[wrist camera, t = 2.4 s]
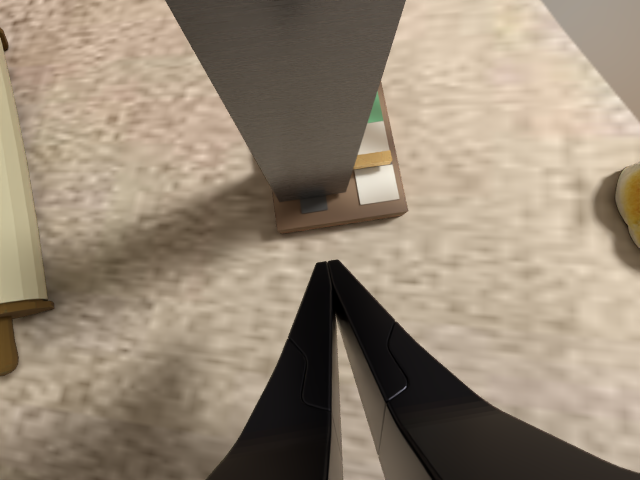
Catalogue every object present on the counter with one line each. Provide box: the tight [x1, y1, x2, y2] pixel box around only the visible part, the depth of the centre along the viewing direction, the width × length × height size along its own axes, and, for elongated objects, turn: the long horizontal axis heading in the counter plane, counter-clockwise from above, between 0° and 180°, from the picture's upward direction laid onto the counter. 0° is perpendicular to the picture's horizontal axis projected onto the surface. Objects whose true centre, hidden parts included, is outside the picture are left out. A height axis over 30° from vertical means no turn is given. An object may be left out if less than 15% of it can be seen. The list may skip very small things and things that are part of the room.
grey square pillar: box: [165, 0, 406, 202], centre depth 10 cm, size 4×9×17 cm, turn 99°
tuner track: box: [272, 81, 408, 234], centre depth 20 cm, size 12×10×2 cm
